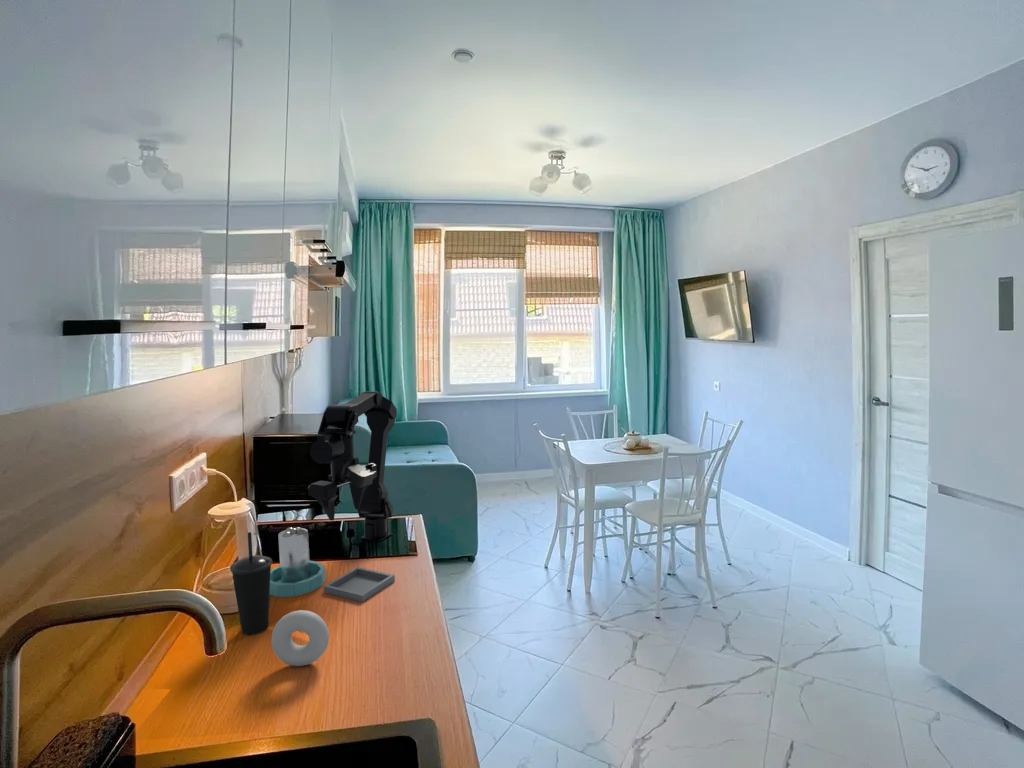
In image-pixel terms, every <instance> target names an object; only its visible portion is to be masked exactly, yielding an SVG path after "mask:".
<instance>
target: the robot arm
mask: <svg viewBox="0 0 1024 768" xmlns="http://www.w3.org/2000/svg"><path fill="white" fill-rule="evenodd" d="M362 415H364V416H365V418H366V424H367V426H368V429H369V430H370V442H369V450H368V452H369V453H368V460H367V465H366V464H364V465H361V464H360V462H359V461H360V459H359V457H356V456H355V450H354V447H355V445H354V444H355V443H354V435H356V433H357V430H355V429H354V428H355V426H356V425H357V424H358V423H359V417H360V416H362ZM397 415H398V411H397V408H396V406H395V404H394V403H393V402H392V400H391V399H388V398H387V397H385V396H384V395H382V393H381V392H380V391H377V390H375V391H374V390H373V391H371V390H370V391H363V392H361V394H359V395H357V396H356V397H354V398H353V399H350V400H349V401H347V402H345V403H338V404H332V405H331V404H330V405H328V406H327V407H326V408H325V411H324V412H323V415H322V417H321V418H322V419H321V421H320V423H319V424H320V425H319V428H318V432H317V435H316V436H317V438H316V439H317V440H316V441H314V442H313V443H312V444H311V447H310V449H309V455H310V457H311V459H312V461H313V462H315V463H317V464H319V465H325V464H329V465H330V471H331V472H330V474H329V475H327V480H318V481H315V482H312V483H310V484H309V485H308V487H307V491H308V492H307V496H310V497H312V498H314V499H316V500H317V502H318V503H319V505H321V508H322V509H323V511H324V513H325V514H326V516H327V519H329V520H330V521H333V522H334V520H335V513H336V512H335V508H336V506H335V502H336V501H335V500H337V497H339V494H337V493H338V488H340V487H344V486H346V485H348V486H349V489H350V494H351V498H352V504H353V507H354V509H355V510H356V511H357V514H358V517H359V519H364V535H362V536H361V539H362V540H366V541H367V540H368V541H373V542H377V543H378V542H381V541H383V540H384V539H386V538H388V537H391V536H392V535H393V532H391V531H389V525H388V524H389V523H388V519H389V518H392V517H393V513H394V506H393V504H392V502H391V501H390V499H389V492H388V490H387V487H386V486H385V484H384V478H385V471H386V470H385V468H386V458H387V447H388V446H387V445H388V438H389V437H388V435H389V433H390V432H391V430H392V429H393V427H394V426H395V423H396V418H397ZM328 480H330V481H328Z"/></svg>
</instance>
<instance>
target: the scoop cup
mask: <svg viewBox="0 0 1024 768" xmlns="http://www.w3.org/2000/svg"><path fill="white" fill-rule="evenodd" d="M277 535H278V552H279V566H280V571H281V583H295V582H299V581H302V580H306V579H309V578H310V562H309V561H310V548H309V546H310V545H309V544H310V543H309V530H308V529H306V528H303V527H299V526H296V527H291V526H289V527H287V528H286V529H285V530H282V531H280V532H279V533H278V534H277Z"/></svg>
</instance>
